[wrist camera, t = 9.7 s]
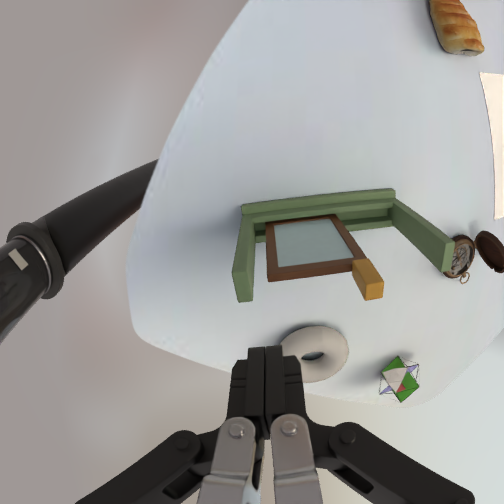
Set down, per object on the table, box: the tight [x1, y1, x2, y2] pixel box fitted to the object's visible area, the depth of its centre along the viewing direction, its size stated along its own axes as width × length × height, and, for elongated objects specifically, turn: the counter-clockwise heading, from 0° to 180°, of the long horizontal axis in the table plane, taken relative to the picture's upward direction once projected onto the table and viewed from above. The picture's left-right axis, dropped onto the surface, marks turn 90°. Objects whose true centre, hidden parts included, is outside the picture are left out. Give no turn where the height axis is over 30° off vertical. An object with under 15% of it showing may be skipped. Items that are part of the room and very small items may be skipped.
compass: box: [443, 231, 504, 284], centre depth 26 cm, size 8×8×7 cm
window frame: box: [232, 188, 455, 303], centre depth 22 cm, size 16×4×12 cm, turn 99°
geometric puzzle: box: [379, 356, 420, 403], centre depth 36 cm, size 7×7×8 cm
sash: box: [265, 214, 384, 301], centre depth 21 cm, size 7×1×13 cm, turn 99°
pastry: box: [429, 0, 484, 56], centre depth 14 cm, size 9×7×4 cm
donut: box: [280, 326, 349, 383], centre depth 35 cm, size 10×4×10 cm
